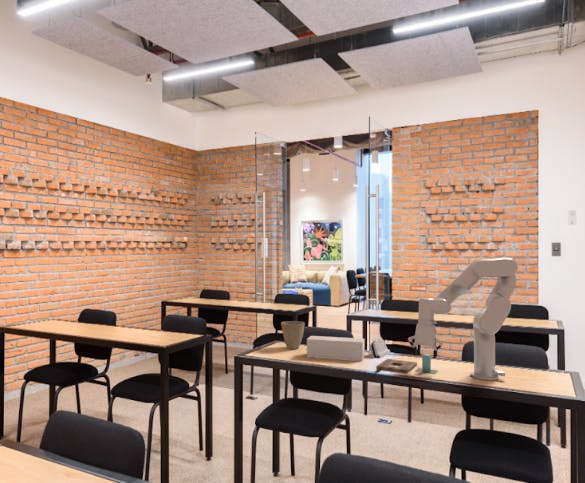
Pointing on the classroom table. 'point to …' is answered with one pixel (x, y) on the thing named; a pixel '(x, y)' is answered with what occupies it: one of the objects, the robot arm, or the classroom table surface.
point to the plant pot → (292, 333)
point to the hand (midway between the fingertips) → (424, 356)
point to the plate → (426, 372)
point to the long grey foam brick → (336, 348)
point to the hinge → (379, 348)
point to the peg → (426, 363)
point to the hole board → (396, 366)
